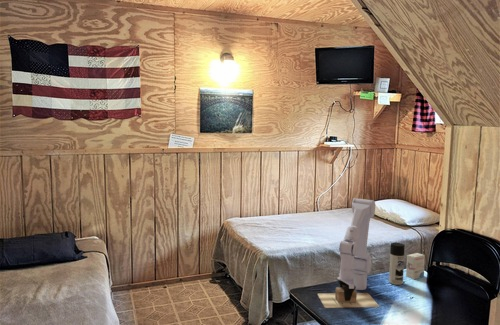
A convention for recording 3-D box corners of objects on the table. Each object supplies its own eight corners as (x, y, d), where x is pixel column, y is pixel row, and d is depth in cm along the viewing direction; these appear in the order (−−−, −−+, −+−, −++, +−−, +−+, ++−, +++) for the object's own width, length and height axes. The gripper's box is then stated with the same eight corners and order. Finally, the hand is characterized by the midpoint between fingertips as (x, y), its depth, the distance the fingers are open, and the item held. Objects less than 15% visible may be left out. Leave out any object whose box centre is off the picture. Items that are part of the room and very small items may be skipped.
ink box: (416, 273, 216) (417, 252, 214) (424, 276, 211) (425, 254, 210) (405, 276, 211) (406, 254, 210) (413, 279, 207) (414, 257, 206)
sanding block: (335, 298, 179) (335, 287, 178) (352, 297, 179) (353, 287, 179) (338, 302, 174) (338, 291, 174) (356, 302, 175) (356, 291, 174)
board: (316, 296, 184) (317, 293, 184) (367, 296, 186) (368, 292, 186) (324, 310, 170) (324, 307, 170) (379, 310, 172) (379, 306, 172)
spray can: (395, 286, 198) (397, 246, 196) (385, 281, 204) (387, 242, 202) (405, 284, 201) (408, 245, 199) (395, 279, 207) (397, 241, 205)
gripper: (333, 262, 182) (332, 291, 184) (343, 274, 168) (341, 305, 169) (348, 262, 183) (347, 290, 184) (359, 274, 168) (358, 305, 170)
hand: (345, 297), depth 177 cm, fingers closed on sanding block, 4 cm apart
